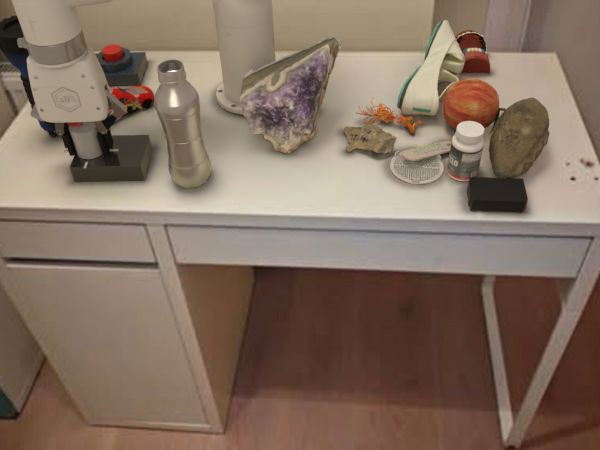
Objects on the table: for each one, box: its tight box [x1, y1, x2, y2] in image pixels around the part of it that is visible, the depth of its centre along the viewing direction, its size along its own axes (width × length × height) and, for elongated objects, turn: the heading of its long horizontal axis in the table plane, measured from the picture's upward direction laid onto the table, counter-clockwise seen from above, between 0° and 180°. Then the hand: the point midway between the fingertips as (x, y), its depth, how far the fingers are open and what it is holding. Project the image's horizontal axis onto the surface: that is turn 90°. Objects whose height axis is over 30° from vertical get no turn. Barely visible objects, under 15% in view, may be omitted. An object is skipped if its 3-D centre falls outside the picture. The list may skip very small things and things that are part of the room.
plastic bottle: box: [153, 58, 212, 189], centre depth 95 cm, size 6×7×20 cm
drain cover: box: [389, 150, 445, 185], centre depth 102 cm, size 8×8×1 cm
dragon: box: [356, 97, 424, 134], centre depth 109 cm, size 4×11×4 cm, turn 68°
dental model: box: [455, 29, 491, 74], centre depth 122 cm, size 7×5×10 cm
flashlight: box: [0, 15, 59, 138], centre depth 105 cm, size 8×8×20 cm
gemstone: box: [240, 36, 343, 155], centre depth 105 cm, size 18×16×14 cm
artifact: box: [342, 121, 398, 154], centre depth 106 cm, size 7×3×10 cm
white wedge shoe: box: [396, 19, 465, 116], centre depth 115 cm, size 8×24×8 cm
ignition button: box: [101, 44, 123, 62], centre depth 122 cm, size 4×4×2 cm
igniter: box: [94, 46, 148, 87], centre depth 124 cm, size 10×8×4 cm
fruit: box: [442, 78, 507, 135], centre depth 106 cm, size 9×10×10 cm
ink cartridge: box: [466, 176, 529, 214], centre depth 96 cm, size 5×2×8 cm
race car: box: [108, 85, 155, 119], centre depth 115 cm, size 13×5×4 cm, turn 127°
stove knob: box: [68, 122, 102, 159], centre depth 101 cm, size 4×4×5 cm
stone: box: [488, 97, 550, 178], centre depth 100 cm, size 17×9×8 cm, turn 156°
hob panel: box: [63, 134, 153, 183], centre depth 104 cm, size 13×9×3 cm
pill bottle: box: [446, 121, 485, 182], centre depth 98 cm, size 5×5×8 cm
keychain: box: [402, 140, 452, 161], centre depth 104 cm, size 10×1×3 cm
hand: (90, 149), depth 103 cm, fingers closed on hob panel, stove knob, 4 cm apart
